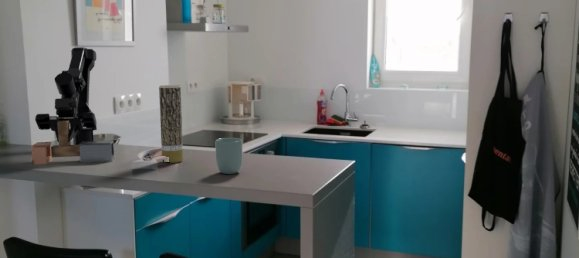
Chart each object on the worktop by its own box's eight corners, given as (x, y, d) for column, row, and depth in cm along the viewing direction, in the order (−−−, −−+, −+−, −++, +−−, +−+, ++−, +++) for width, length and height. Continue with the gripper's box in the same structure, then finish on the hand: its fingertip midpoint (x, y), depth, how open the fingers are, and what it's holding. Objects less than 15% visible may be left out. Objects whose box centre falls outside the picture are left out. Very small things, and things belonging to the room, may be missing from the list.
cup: (229, 169, 179) (228, 136, 178) (248, 172, 174) (247, 139, 173) (211, 173, 173) (210, 140, 172) (229, 176, 168) (228, 142, 167)
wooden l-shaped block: (103, 153, 196) (101, 119, 195) (101, 155, 193) (99, 120, 191) (54, 155, 194) (51, 120, 192) (51, 157, 191) (49, 122, 189)
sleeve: (114, 158, 198) (113, 140, 197) (111, 161, 193) (110, 142, 192) (83, 159, 196) (82, 141, 196) (80, 162, 191) (79, 143, 190)
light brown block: (52, 160, 196) (50, 141, 195) (46, 164, 189) (45, 145, 188) (38, 160, 195) (37, 142, 195) (32, 164, 189) (31, 145, 188)
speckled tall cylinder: (185, 159, 194) (183, 84, 191) (179, 163, 188) (177, 86, 184) (165, 159, 195) (162, 85, 192) (159, 163, 188) (156, 86, 185)
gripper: (34, 89, 192) (27, 127, 183) (92, 88, 195) (88, 125, 186) (42, 110, 201) (35, 147, 192) (98, 109, 204) (94, 145, 195)
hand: (63, 141), depth 191 cm, fingers closed on wooden l-shaped block, 3 cm apart
